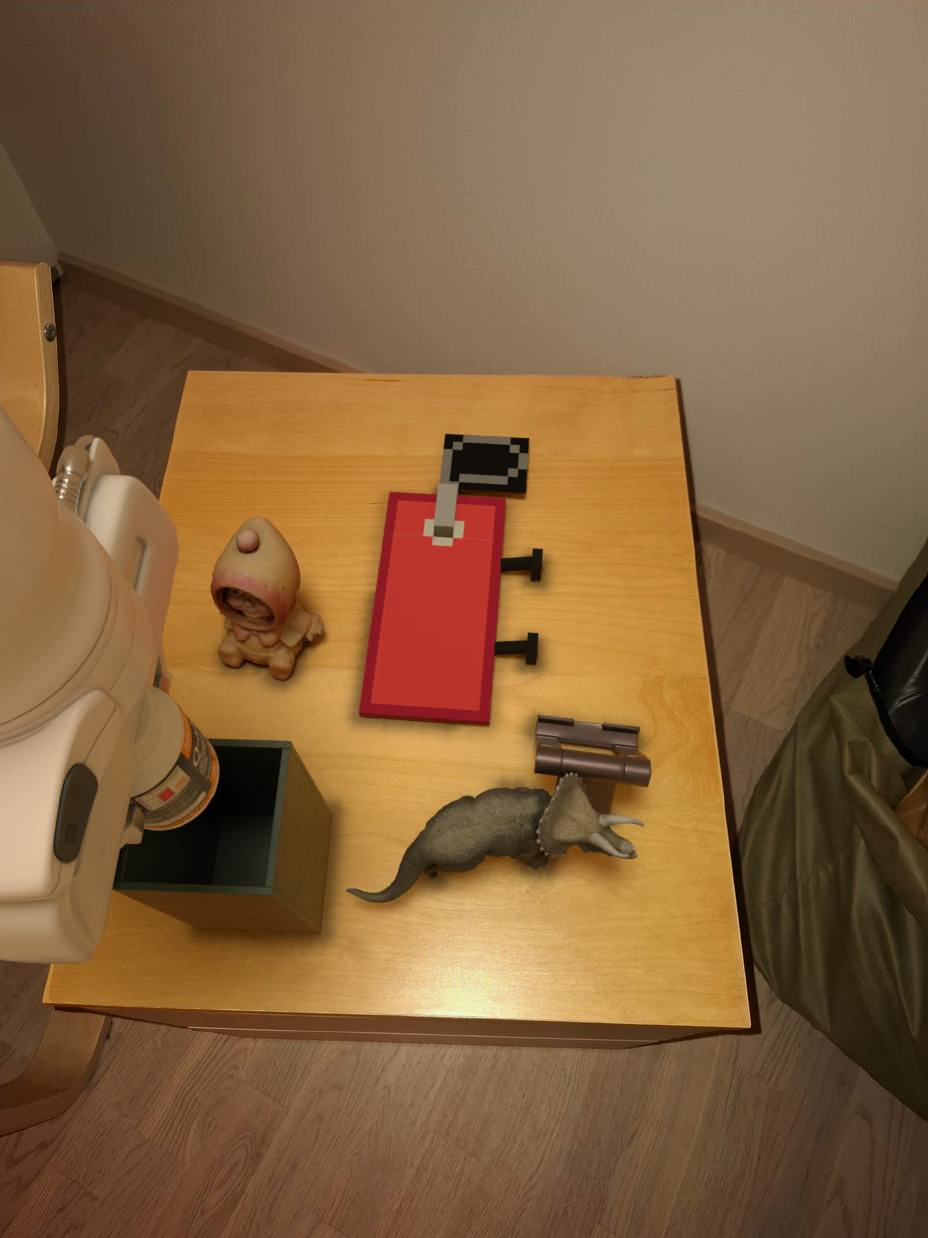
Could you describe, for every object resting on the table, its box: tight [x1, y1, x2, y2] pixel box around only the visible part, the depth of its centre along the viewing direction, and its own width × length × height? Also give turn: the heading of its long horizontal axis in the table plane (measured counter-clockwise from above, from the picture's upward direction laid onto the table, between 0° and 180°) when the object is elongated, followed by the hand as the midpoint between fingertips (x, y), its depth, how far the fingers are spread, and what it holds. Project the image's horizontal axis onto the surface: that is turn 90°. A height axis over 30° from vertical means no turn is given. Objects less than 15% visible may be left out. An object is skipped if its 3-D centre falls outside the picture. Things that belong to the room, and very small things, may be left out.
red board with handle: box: [358, 433, 544, 726], centre depth 83 cm, size 30×3×15 cm
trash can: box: [112, 737, 333, 935], centre depth 64 cm, size 10×10×20 cm
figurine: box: [209, 515, 325, 682], centre depth 76 cm, size 10×8×15 cm
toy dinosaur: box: [345, 773, 646, 904], centre depth 68 cm, size 22×8×11 cm, turn 96°
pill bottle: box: [129, 686, 219, 830], centre depth 44 cm, size 6×6×10 cm
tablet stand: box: [533, 714, 653, 815], centre depth 72 cm, size 9×8×8 cm
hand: (142, 757), depth 45 cm, fingers closed on pill bottle, 6 cm apart
